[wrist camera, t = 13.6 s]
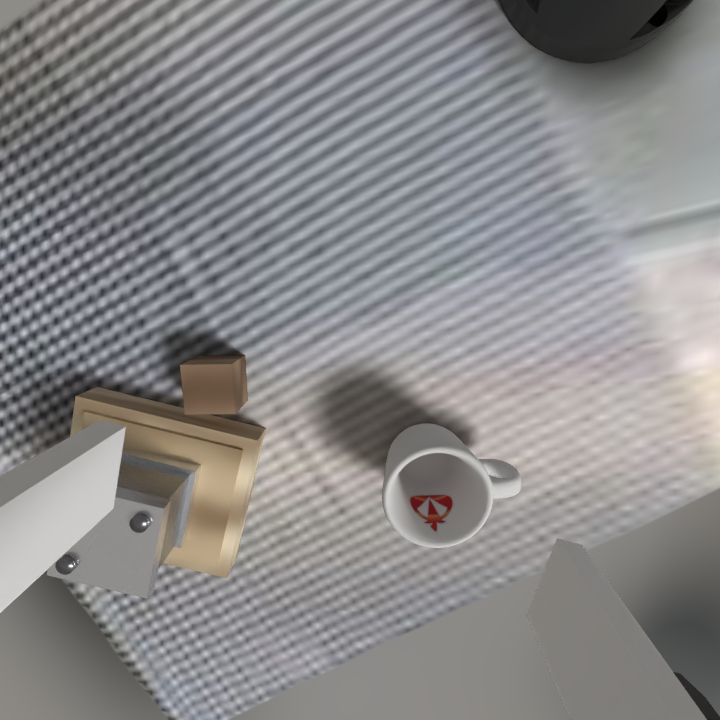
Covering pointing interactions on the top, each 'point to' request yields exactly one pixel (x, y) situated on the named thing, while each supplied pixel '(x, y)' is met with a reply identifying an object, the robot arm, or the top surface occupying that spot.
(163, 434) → the tan square tray
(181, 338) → the top surface
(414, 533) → the cup
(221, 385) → the walnut block
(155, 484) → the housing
